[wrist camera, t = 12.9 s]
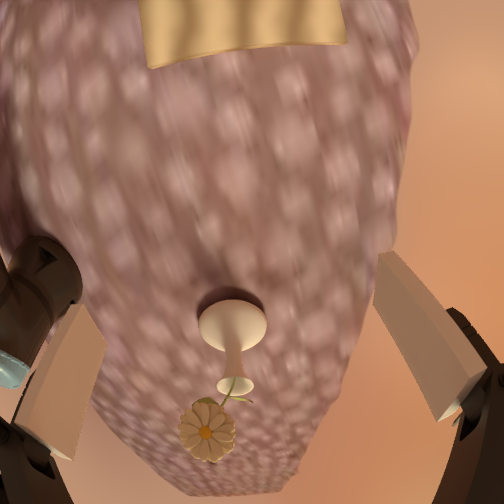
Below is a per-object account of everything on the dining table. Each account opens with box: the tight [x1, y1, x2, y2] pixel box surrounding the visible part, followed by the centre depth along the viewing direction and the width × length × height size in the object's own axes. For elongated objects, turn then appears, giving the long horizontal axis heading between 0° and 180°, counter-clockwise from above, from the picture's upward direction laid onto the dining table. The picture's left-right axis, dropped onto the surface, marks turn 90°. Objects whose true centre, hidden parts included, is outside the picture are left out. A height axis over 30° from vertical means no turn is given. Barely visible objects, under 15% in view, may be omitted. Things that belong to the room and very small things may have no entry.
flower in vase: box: [178, 300, 267, 462], centre depth 36 cm, size 13×11×25 cm
